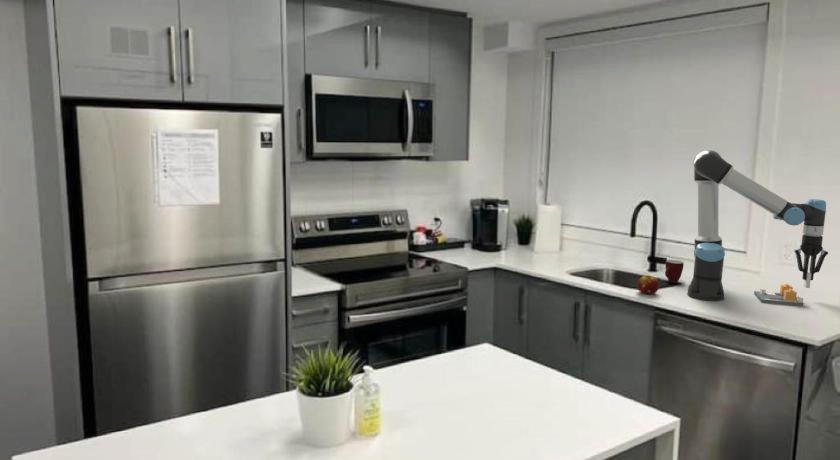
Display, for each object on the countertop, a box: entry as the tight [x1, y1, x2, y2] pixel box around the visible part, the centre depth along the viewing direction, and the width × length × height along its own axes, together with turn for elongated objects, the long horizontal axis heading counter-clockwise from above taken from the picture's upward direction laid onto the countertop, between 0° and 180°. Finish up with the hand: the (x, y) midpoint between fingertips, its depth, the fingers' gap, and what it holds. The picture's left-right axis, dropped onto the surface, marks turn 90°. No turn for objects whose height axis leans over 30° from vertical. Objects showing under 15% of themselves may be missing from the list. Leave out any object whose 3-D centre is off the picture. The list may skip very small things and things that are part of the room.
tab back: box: [779, 283, 794, 295], centre depth 270 cm, size 4×3×5 cm
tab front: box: [783, 289, 798, 301], centre depth 262 cm, size 4×3×5 cm
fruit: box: [636, 274, 660, 295], centre depth 275 cm, size 10×9×8 cm
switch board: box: [753, 287, 805, 307], centre depth 268 cm, size 16×14×4 cm
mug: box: [664, 259, 685, 283], centre depth 296 cm, size 10×8×10 cm
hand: (806, 287), depth 268 cm, fingers closed
